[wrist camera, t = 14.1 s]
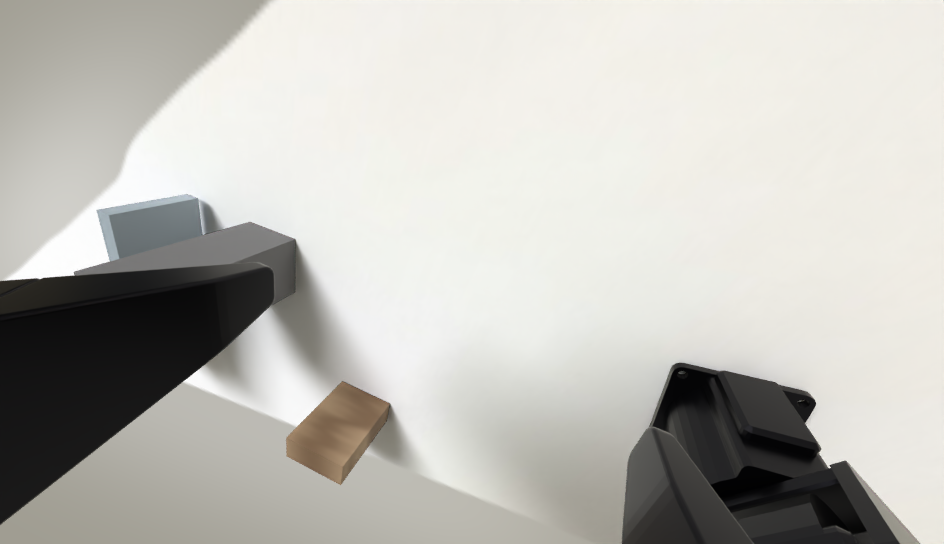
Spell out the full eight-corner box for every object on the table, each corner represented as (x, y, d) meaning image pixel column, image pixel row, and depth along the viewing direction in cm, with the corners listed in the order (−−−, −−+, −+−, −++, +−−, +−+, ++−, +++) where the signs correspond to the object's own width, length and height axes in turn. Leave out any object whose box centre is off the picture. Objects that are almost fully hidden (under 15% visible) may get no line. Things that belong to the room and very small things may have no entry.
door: (219, 339, 32) (145, 382, 27) (196, 328, 33) (119, 368, 28) (203, 197, 26) (103, 216, 21) (175, 187, 27) (71, 202, 21)
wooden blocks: (389, 403, 29) (342, 466, 23) (386, 420, 29) (340, 485, 24) (169, 300, 33) (87, 333, 28) (172, 317, 34) (94, 353, 29)
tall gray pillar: (294, 239, 25) (134, 300, 17) (294, 292, 27) (151, 372, 19) (250, 221, 26) (73, 272, 17) (253, 274, 28) (96, 343, 19)
